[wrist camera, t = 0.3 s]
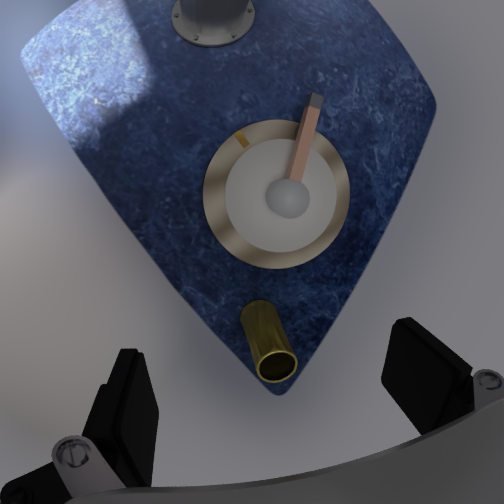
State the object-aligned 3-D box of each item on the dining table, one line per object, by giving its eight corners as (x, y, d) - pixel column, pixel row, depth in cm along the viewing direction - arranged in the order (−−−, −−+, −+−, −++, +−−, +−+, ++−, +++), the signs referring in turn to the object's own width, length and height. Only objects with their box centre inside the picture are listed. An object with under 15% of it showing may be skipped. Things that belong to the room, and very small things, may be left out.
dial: (315, 259, 46) (328, 271, 41) (212, 236, 43) (213, 245, 38) (354, 120, 41) (371, 115, 36) (253, 84, 38) (259, 73, 33)
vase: (284, 311, 50) (310, 360, 36) (261, 337, 51) (279, 391, 37) (256, 292, 48) (274, 339, 35) (232, 320, 49) (242, 373, 35)
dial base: (172, 178, 42) (171, 178, 40) (296, 95, 41) (299, 92, 39) (259, 292, 48) (261, 297, 47) (367, 212, 47) (373, 214, 46)
